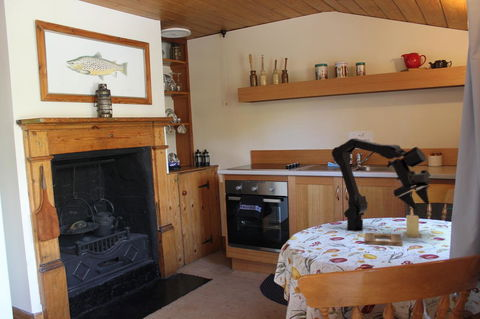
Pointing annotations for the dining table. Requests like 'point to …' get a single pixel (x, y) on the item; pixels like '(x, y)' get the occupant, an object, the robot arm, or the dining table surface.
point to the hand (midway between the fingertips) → (422, 206)
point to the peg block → (412, 226)
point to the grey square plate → (411, 237)
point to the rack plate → (377, 240)
